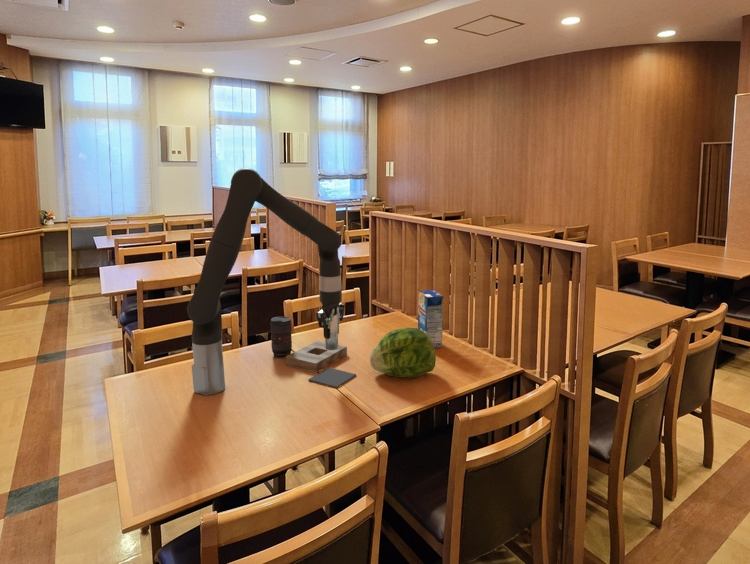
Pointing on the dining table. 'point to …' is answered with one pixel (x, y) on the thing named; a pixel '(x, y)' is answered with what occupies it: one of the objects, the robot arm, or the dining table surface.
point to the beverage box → (431, 315)
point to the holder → (315, 356)
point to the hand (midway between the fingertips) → (331, 336)
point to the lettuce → (404, 353)
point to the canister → (332, 334)
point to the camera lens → (281, 336)
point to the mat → (332, 377)
